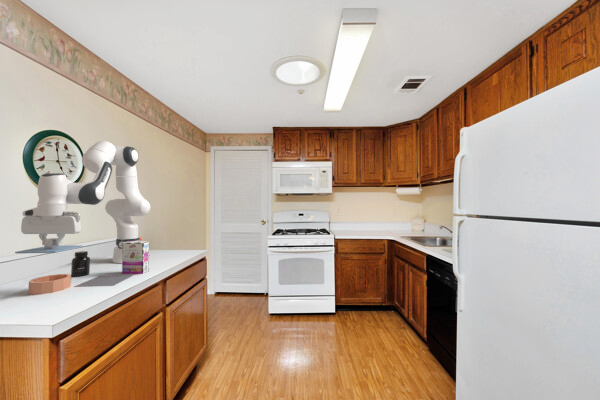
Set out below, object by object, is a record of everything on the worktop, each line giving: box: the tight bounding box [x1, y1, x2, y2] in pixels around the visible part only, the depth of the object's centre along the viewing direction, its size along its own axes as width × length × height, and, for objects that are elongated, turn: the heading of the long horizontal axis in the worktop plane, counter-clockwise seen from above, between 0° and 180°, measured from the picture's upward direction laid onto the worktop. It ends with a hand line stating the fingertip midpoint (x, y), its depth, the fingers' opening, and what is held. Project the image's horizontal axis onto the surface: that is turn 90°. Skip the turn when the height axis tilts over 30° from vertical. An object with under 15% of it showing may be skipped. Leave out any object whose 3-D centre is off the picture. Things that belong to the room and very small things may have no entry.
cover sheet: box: [14, 237, 84, 254], centre depth 102 cm, size 14×14×5 cm
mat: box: [73, 274, 135, 288], centre depth 113 cm, size 16×16×1 cm
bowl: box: [27, 273, 72, 296], centre depth 101 cm, size 12×12×5 cm
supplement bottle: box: [70, 250, 91, 278], centre depth 121 cm, size 7×7×12 cm
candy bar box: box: [121, 240, 150, 275], centre depth 127 cm, size 11×5×16 cm, turn 88°
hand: (51, 244), depth 102 cm, fingers closed on cover sheet, 3 cm apart
